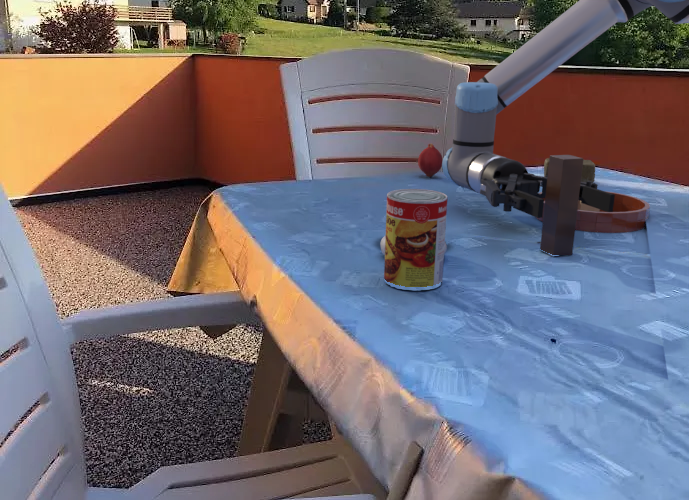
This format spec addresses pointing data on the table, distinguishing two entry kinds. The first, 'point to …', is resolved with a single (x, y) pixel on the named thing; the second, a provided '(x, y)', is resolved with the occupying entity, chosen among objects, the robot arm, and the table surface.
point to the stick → (561, 204)
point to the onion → (430, 160)
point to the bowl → (614, 216)
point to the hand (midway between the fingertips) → (577, 206)
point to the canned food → (415, 237)
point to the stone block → (587, 170)
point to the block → (586, 207)
